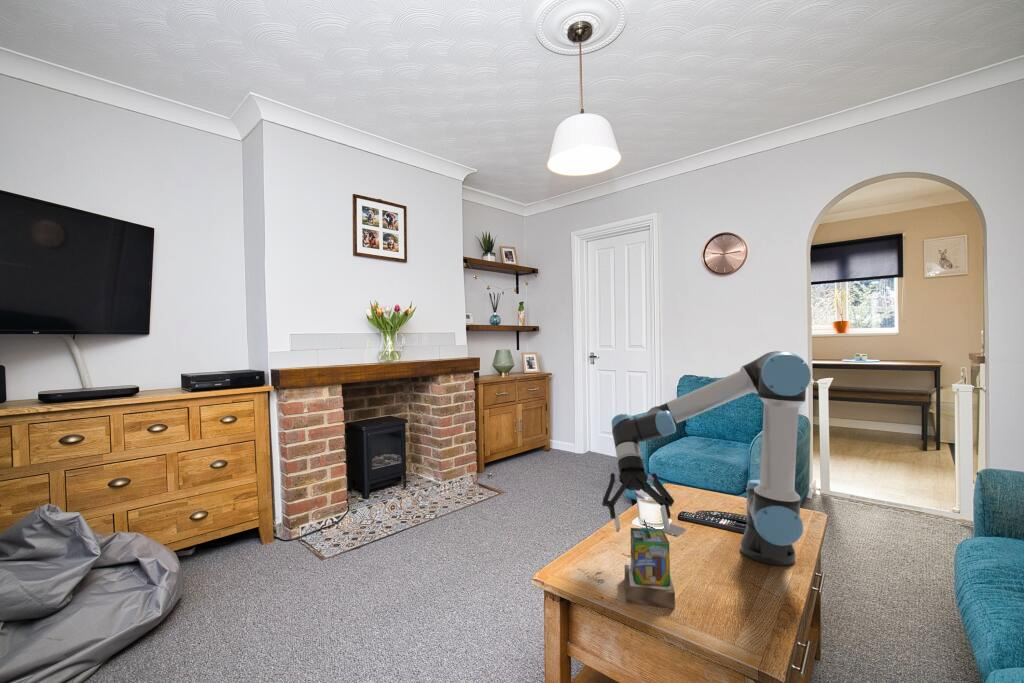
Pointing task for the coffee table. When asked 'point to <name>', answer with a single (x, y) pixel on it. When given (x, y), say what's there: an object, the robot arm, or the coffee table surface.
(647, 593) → the base brick
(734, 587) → the coffee table surface
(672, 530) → the smartphone
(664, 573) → the chalk box
